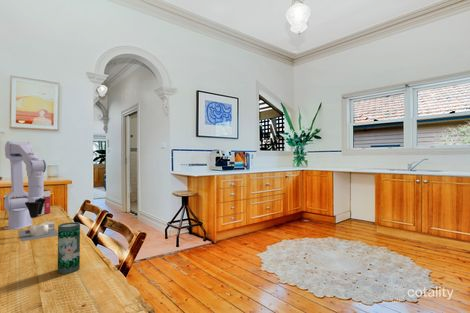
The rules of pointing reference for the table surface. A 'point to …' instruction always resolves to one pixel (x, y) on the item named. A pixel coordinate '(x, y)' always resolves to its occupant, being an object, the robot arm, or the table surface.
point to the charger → (49, 224)
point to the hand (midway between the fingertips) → (36, 216)
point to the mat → (27, 236)
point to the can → (68, 247)
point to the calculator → (46, 203)
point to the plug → (38, 230)
